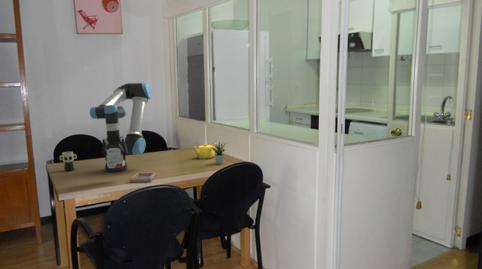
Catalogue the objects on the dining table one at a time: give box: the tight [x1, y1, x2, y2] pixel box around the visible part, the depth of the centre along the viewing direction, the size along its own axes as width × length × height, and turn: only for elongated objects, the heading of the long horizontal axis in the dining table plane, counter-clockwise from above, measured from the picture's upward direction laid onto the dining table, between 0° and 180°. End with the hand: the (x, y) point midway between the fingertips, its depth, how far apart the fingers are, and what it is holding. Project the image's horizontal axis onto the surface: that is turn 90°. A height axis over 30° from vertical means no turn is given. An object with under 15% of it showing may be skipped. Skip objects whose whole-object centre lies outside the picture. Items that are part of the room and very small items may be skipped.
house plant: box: [210, 141, 229, 165], centre depth 280 cm, size 14×14×16 cm
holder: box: [129, 171, 158, 184], centre depth 241 cm, size 13×15×2 cm
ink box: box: [107, 148, 123, 168], centre depth 239 cm, size 9×5×12 cm, turn 92°
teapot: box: [192, 142, 218, 160], centre depth 300 cm, size 22×16×11 cm
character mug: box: [59, 151, 78, 171], centre depth 270 cm, size 11×7×13 cm, turn 112°
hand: (116, 165), depth 240 cm, fingers closed on ink box, 9 cm apart
